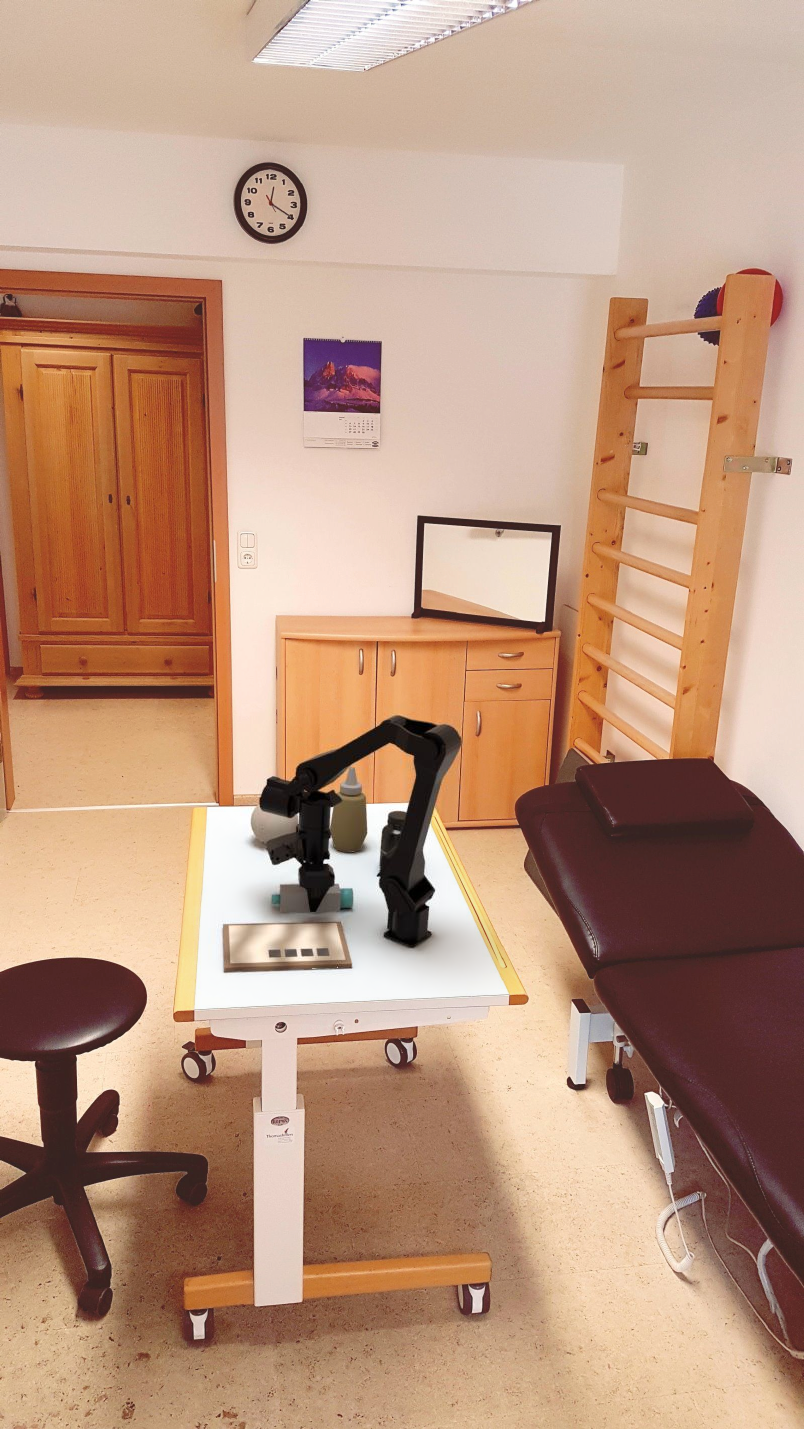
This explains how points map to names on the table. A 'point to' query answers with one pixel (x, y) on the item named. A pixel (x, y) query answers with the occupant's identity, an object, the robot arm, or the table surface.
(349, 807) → the squeeze bottle
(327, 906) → the marker
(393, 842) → the supplement bottle
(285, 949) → the brown framed board
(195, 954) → the table surface
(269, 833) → the beige ball
